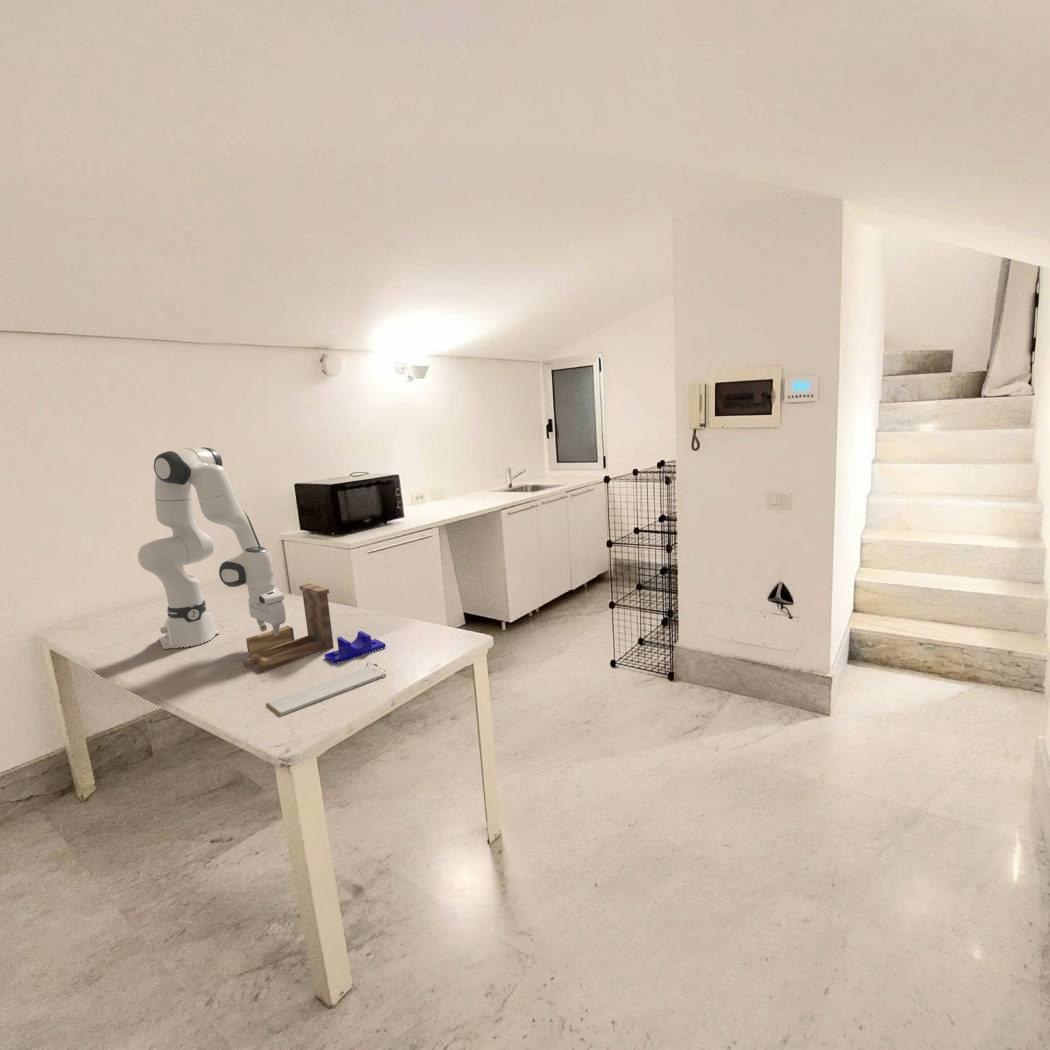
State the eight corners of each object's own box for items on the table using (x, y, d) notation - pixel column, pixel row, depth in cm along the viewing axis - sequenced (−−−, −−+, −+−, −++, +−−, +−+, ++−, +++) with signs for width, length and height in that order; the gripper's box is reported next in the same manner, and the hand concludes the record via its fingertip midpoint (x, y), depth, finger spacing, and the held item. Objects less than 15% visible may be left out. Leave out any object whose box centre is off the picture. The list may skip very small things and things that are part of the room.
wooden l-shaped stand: (243, 664, 193) (234, 602, 189) (316, 639, 211) (309, 583, 208) (261, 673, 184) (252, 609, 180) (335, 647, 202) (328, 588, 199)
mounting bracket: (334, 665, 188) (331, 647, 187) (325, 659, 193) (322, 641, 192) (385, 648, 199) (384, 631, 198) (376, 643, 205) (374, 627, 204)
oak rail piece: (247, 652, 203) (245, 638, 202) (289, 639, 214) (287, 625, 213) (252, 654, 200) (250, 640, 199) (294, 641, 211) (292, 627, 210)
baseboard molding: (264, 704, 164) (281, 718, 156) (262, 694, 164) (280, 707, 155) (366, 667, 185) (386, 678, 176) (365, 658, 185) (385, 668, 176)
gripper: (241, 592, 208) (247, 630, 210) (267, 600, 194) (274, 641, 196) (259, 588, 212) (265, 625, 215) (286, 595, 199) (292, 635, 201)
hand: (269, 633), depth 205 cm, fingers open, 8 cm apart
